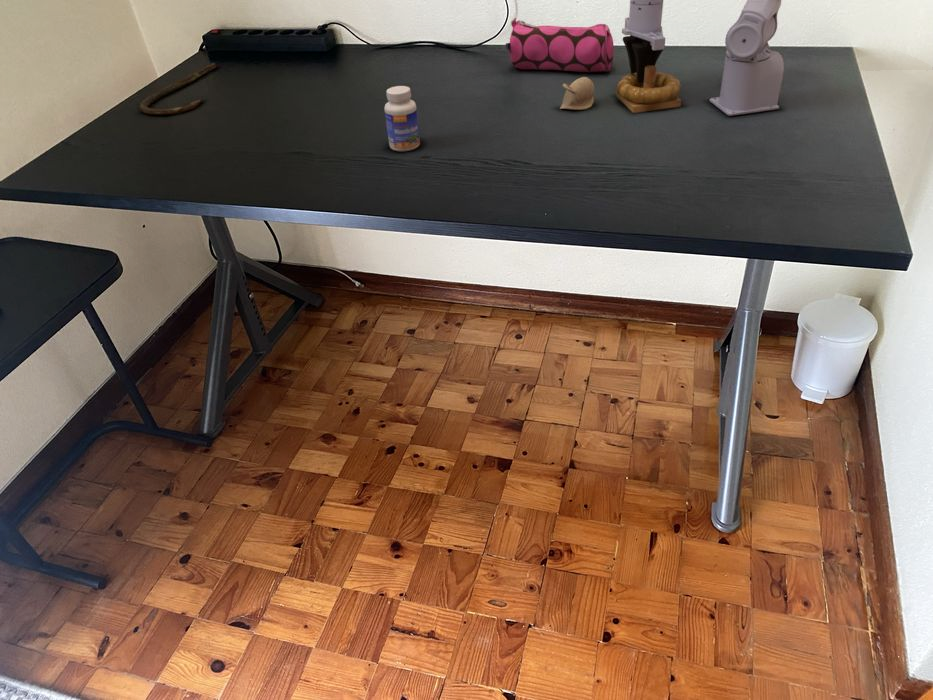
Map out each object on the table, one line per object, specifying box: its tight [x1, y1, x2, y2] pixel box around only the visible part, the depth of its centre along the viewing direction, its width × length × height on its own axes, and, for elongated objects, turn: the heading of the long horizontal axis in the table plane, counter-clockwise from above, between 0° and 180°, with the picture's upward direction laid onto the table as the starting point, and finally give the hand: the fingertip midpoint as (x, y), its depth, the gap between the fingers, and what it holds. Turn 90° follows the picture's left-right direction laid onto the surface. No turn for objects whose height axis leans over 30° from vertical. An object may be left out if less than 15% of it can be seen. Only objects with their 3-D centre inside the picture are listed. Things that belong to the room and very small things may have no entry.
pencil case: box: [505, 17, 615, 73], centre depth 149 cm, size 21×10×10 cm, turn 73°
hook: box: [139, 62, 217, 116], centre depth 158 cm, size 12×30×2 cm, turn 8°
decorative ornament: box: [559, 76, 595, 111], centre depth 134 cm, size 4×8×5 cm, turn 129°
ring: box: [616, 71, 682, 104], centre depth 134 cm, size 11×11×3 cm
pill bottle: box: [383, 85, 421, 152], centre depth 124 cm, size 5×5×10 cm
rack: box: [615, 65, 682, 114], centre depth 133 cm, size 9×9×6 cm
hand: (640, 79), depth 137 cm, fingers closed on ring, 3 cm apart
